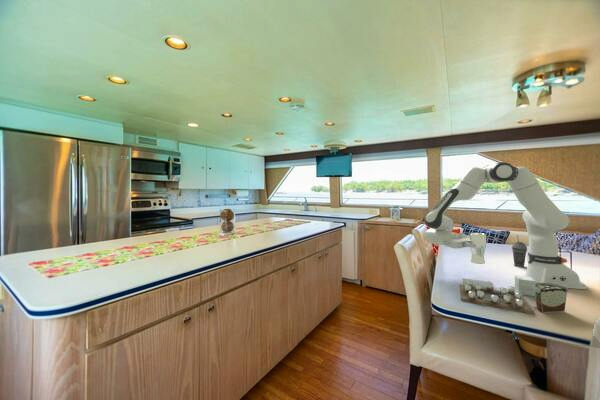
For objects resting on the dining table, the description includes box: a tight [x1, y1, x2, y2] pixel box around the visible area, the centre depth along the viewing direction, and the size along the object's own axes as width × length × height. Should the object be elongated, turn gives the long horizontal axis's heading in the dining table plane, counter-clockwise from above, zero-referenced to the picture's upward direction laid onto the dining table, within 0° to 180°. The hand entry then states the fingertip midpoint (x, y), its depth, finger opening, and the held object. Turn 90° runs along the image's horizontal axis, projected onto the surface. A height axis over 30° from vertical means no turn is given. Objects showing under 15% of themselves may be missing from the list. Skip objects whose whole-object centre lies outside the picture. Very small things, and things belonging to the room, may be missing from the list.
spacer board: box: [459, 284, 534, 315], centre depth 110 cm, size 24×18×1 cm
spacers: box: [465, 280, 523, 309], centre depth 110 cm, size 20×17×4 cm
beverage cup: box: [511, 234, 528, 268], centre depth 154 cm, size 7×7×20 cm
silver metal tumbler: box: [469, 232, 487, 265], centre depth 126 cm, size 7×7×15 cm
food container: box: [533, 282, 570, 314], centre depth 100 cm, size 12×6×10 cm, turn 92°
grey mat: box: [461, 277, 496, 290], centre depth 127 cm, size 13×12×1 cm
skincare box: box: [514, 275, 537, 297], centre depth 116 cm, size 6×6×7 cm
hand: (479, 245), depth 125 cm, fingers closed on silver metal tumbler, 6 cm apart
